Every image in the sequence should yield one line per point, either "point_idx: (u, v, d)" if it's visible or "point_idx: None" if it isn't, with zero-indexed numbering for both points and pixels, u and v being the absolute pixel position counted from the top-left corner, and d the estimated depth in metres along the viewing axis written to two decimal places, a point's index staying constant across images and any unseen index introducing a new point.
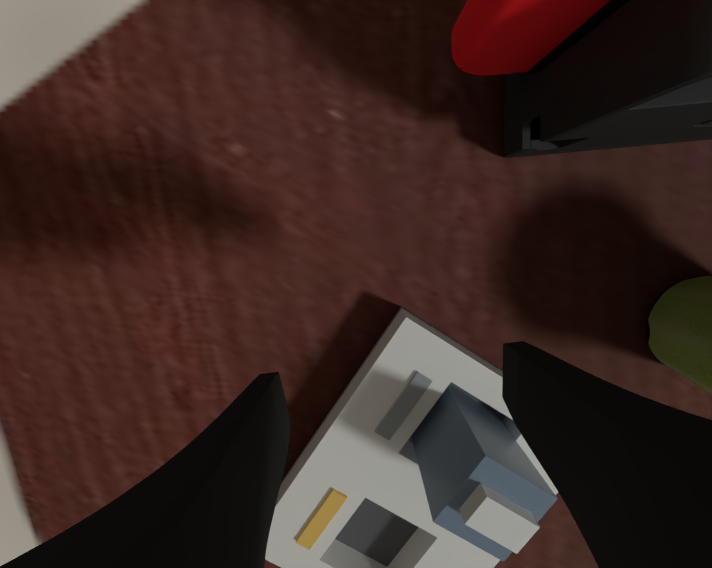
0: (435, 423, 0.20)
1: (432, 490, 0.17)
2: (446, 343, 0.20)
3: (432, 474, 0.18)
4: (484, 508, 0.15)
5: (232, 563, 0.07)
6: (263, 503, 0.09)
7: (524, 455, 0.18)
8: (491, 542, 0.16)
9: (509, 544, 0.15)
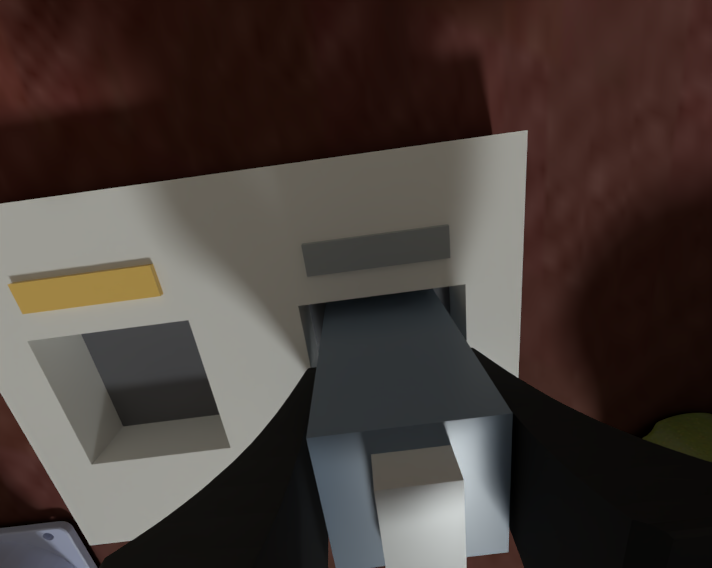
0: (388, 315, 0.11)
1: (333, 389, 0.08)
2: (521, 229, 0.11)
3: (346, 368, 0.09)
4: (434, 493, 0.06)
5: (310, 554, 0.07)
6: None
7: None
8: (353, 536, 0.08)
9: None
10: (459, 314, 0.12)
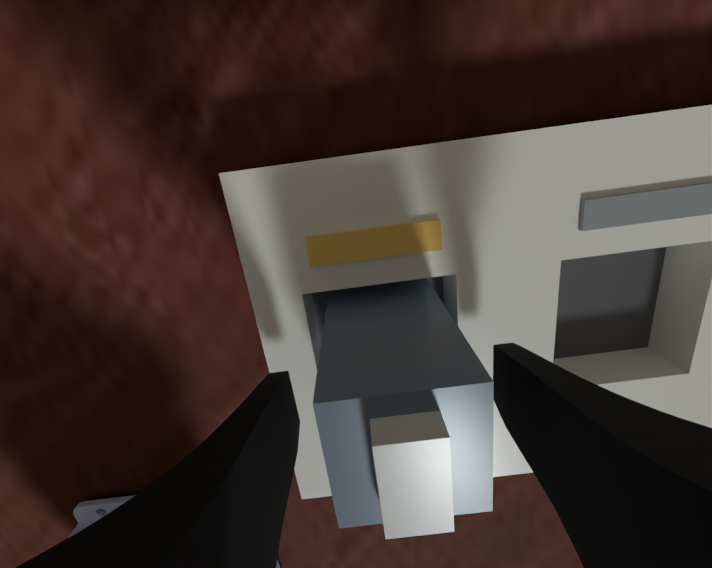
0: (386, 303, 0.12)
1: (336, 365, 0.09)
2: None
3: (347, 348, 0.10)
4: (424, 449, 0.07)
5: (248, 561, 0.07)
6: (275, 502, 0.09)
7: None
8: (353, 495, 0.09)
9: (393, 521, 0.08)
10: (691, 272, 0.13)
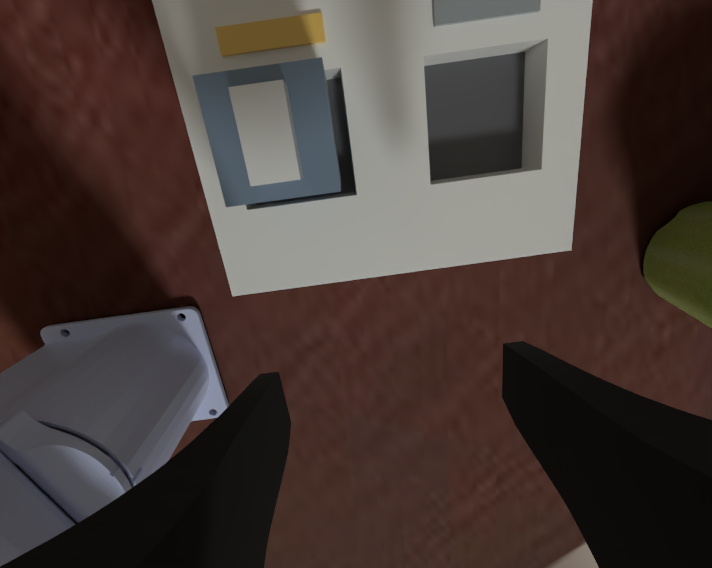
0: None
1: None
2: None
3: None
4: (266, 91, 0.10)
5: (232, 563, 0.07)
6: (263, 503, 0.09)
7: None
8: (233, 172, 0.12)
9: (253, 166, 0.11)
10: (537, 79, 0.16)
